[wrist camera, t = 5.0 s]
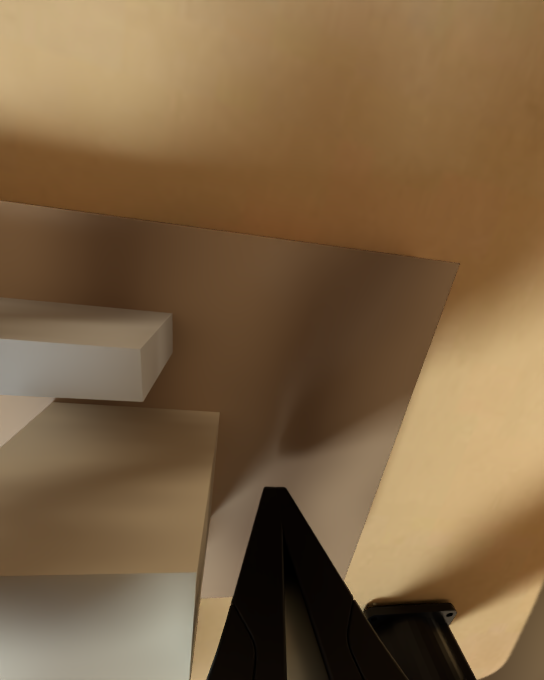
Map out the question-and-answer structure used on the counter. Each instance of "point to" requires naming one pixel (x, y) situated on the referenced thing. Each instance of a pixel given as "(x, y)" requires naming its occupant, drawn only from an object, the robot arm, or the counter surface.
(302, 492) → the channel board
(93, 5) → the counter surface
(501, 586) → the counter surface
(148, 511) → the maple block
